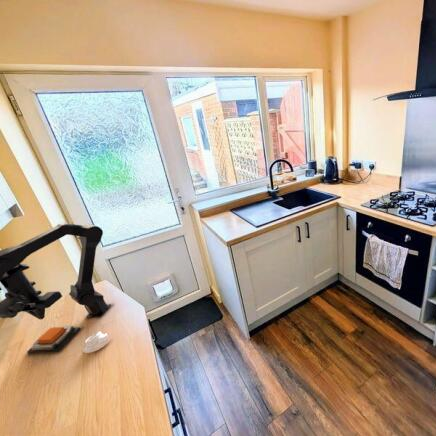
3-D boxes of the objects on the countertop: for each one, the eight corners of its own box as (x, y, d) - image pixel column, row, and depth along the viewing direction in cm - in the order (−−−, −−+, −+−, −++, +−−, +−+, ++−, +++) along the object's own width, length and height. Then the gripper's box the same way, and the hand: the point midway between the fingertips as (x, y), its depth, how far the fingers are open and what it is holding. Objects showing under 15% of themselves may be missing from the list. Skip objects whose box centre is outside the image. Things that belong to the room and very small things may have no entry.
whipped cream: (88, 359, 86) (81, 351, 83) (81, 349, 89) (74, 341, 87) (113, 341, 91) (107, 333, 89) (105, 332, 95) (99, 324, 92)
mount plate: (80, 329, 98) (77, 324, 97) (59, 351, 89) (55, 347, 88) (52, 330, 99) (49, 326, 98) (28, 353, 90) (24, 349, 88)
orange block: (67, 332, 96) (63, 326, 94) (54, 345, 91) (50, 339, 89) (54, 333, 96) (50, 327, 95) (40, 345, 91) (36, 340, 90)
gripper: (-36, 304, 77) (-6, 339, 83) (20, 300, 76) (46, 335, 82) (2, 281, 87) (26, 314, 93) (52, 277, 86) (73, 310, 93)
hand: (42, 318), depth 90 cm, fingers closed
